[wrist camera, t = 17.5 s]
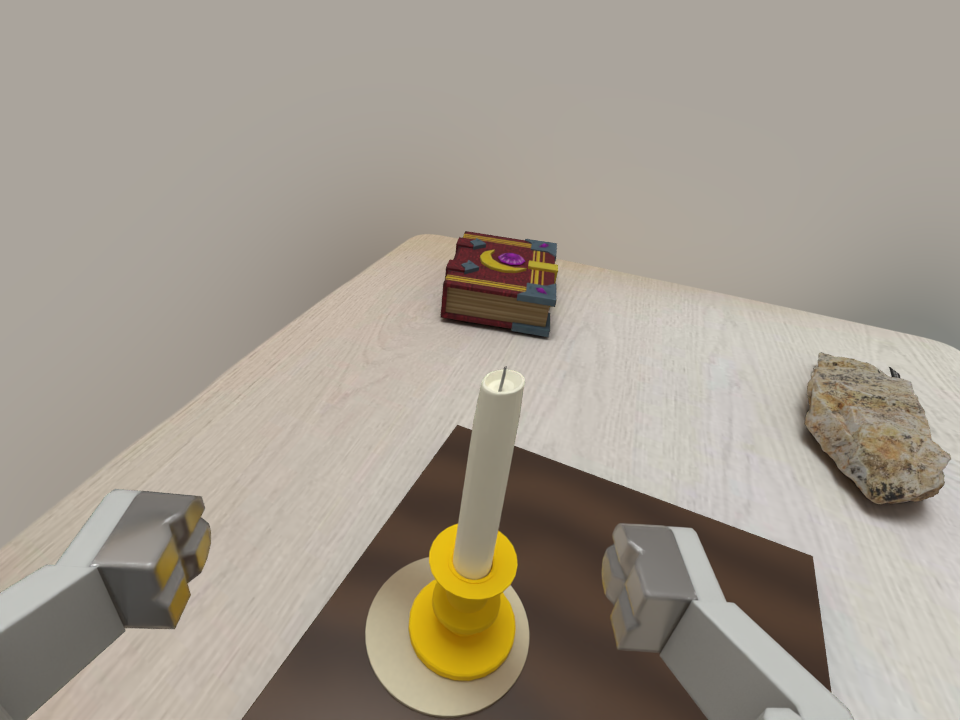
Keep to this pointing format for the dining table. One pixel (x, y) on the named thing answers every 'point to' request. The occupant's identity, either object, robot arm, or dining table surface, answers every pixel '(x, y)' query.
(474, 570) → the candle
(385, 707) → the board
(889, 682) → the dining table surface
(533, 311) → the decorative book
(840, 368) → the stone
